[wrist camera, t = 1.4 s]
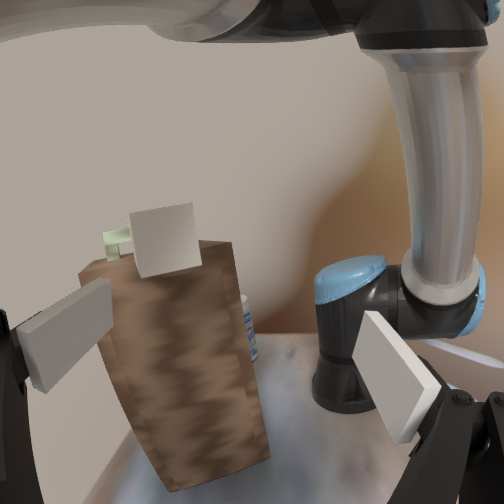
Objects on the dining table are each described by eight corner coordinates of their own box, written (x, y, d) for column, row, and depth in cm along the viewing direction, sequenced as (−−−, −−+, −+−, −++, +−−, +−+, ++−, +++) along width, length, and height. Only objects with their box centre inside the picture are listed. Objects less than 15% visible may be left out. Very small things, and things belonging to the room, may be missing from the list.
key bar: (162, 246, 34) (157, 213, 33) (202, 265, 18) (192, 202, 18) (131, 252, 32) (125, 219, 32) (141, 278, 17) (129, 213, 16)
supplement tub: (257, 366, 59) (246, 304, 58) (215, 370, 60) (201, 310, 58) (258, 347, 69) (249, 291, 67) (221, 350, 70) (210, 296, 68)
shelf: (232, 410, 45) (191, 217, 40) (270, 457, 32) (226, 208, 28) (151, 435, 38) (89, 236, 34) (169, 492, 26) (71, 237, 21)
